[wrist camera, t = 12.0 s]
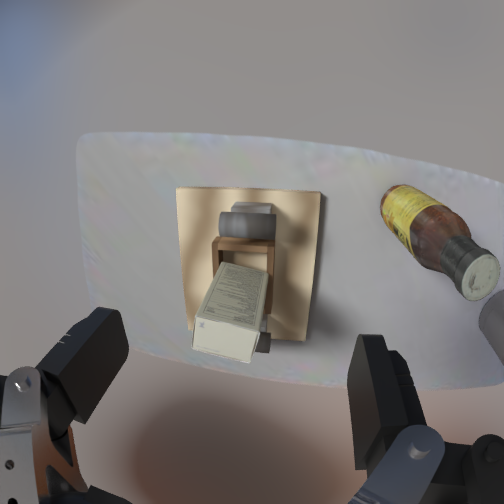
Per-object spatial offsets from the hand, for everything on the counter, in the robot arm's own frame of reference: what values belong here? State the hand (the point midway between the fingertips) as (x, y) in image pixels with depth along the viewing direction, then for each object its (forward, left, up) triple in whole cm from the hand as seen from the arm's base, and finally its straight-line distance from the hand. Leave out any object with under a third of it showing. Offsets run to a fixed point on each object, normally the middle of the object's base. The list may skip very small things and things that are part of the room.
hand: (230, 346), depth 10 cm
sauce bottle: (-16, +2, -30) cm, 34 cm away
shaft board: (+4, +12, -30) cm, 33 cm away
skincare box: (+4, +12, -27) cm, 29 cm away
